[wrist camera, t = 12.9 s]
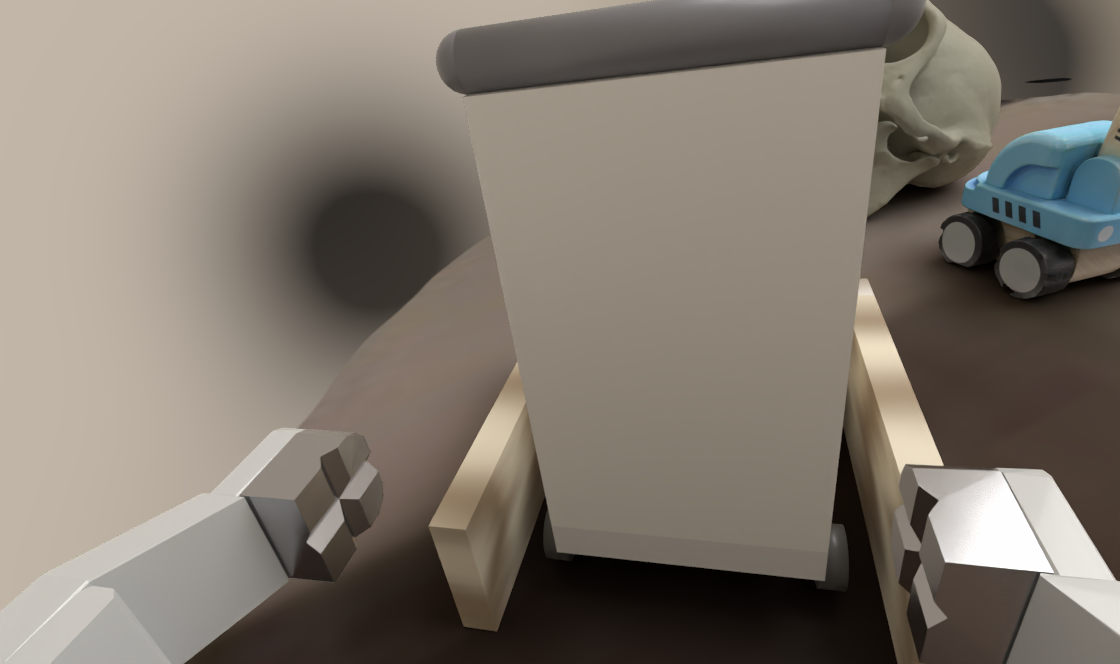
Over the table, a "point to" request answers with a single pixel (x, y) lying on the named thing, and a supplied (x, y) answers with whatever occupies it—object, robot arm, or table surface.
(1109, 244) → the toy excavator
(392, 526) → the table surface
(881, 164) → the skull
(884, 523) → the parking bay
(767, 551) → the trolley
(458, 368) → the table surface
